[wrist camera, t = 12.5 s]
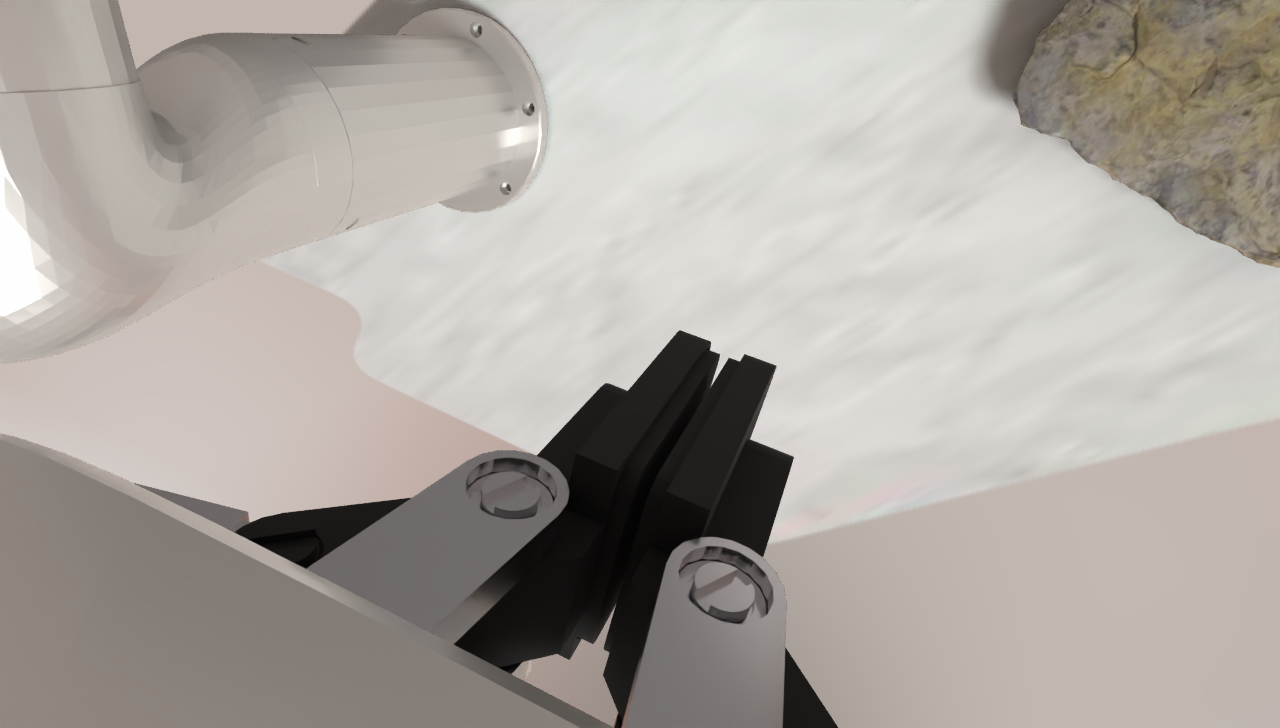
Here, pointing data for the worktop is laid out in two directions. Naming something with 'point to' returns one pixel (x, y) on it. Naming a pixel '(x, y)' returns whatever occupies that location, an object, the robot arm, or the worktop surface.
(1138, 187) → the stone
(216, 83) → the robot arm
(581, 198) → the worktop surface
